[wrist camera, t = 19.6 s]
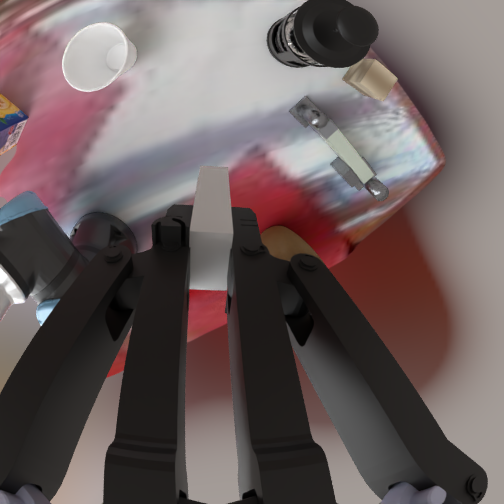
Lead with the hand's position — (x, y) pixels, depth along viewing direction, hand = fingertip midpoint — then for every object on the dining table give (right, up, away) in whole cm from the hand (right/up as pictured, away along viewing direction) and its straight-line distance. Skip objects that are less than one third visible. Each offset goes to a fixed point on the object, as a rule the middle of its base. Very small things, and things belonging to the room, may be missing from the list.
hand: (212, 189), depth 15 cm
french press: (+9, +30, +19) cm, 37 cm away
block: (+21, +27, +23) cm, 41 cm away
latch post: (+11, +20, +27) cm, 35 cm away
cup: (-19, +28, +18) cm, 38 cm away
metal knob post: (+22, +12, +34) cm, 42 cm away
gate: (+17, +16, +31) cm, 38 cm away
